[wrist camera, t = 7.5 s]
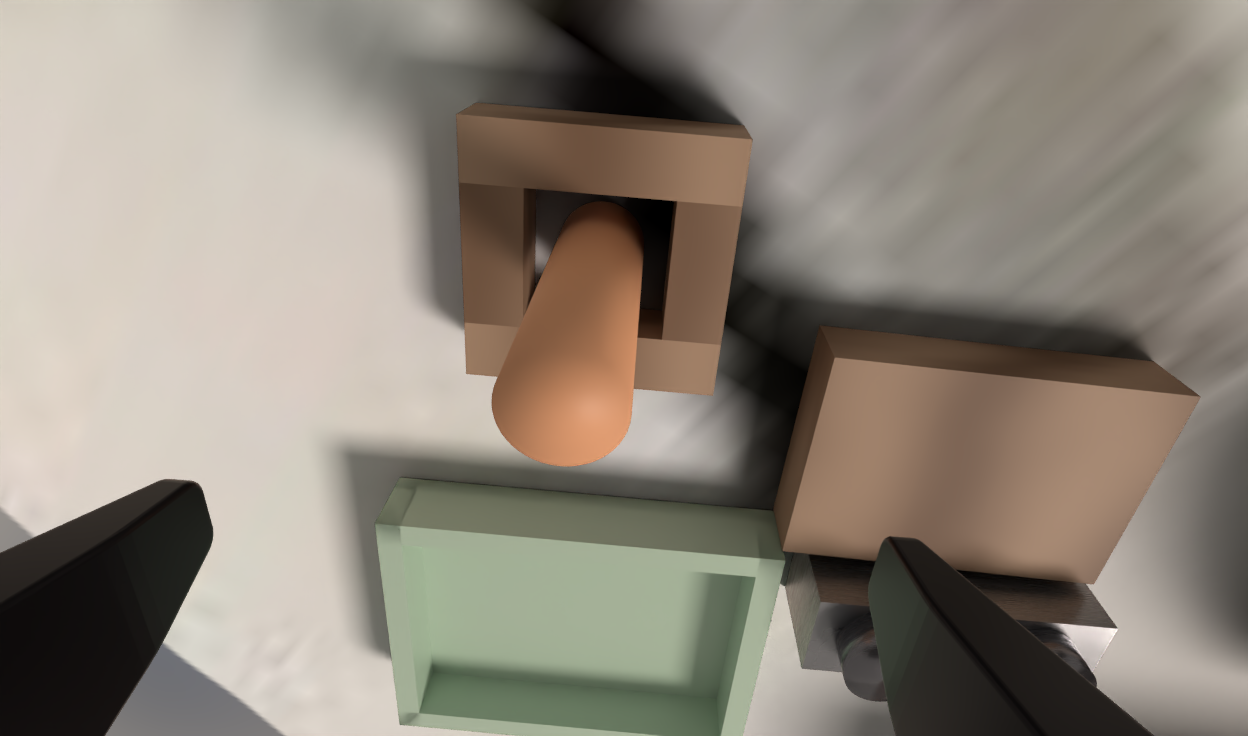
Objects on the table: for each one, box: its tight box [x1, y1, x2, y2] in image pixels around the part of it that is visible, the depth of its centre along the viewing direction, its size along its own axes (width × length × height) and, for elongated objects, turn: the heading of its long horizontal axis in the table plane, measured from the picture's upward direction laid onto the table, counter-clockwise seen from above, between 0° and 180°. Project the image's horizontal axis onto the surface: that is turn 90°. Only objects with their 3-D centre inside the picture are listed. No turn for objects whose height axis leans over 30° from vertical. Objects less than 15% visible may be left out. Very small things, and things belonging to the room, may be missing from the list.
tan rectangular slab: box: [773, 325, 1200, 584], centre depth 22 cm, size 10×7×2 cm
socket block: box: [456, 103, 753, 396], centre depth 19 cm, size 7×7×2 cm
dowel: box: [492, 201, 644, 466], centre depth 16 cm, size 2×2×9 cm
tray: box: [375, 477, 785, 736], centre depth 25 cm, size 13×10×2 cm
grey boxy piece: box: [785, 552, 1118, 701], centre depth 23 cm, size 9×3×5 cm, turn 86°
